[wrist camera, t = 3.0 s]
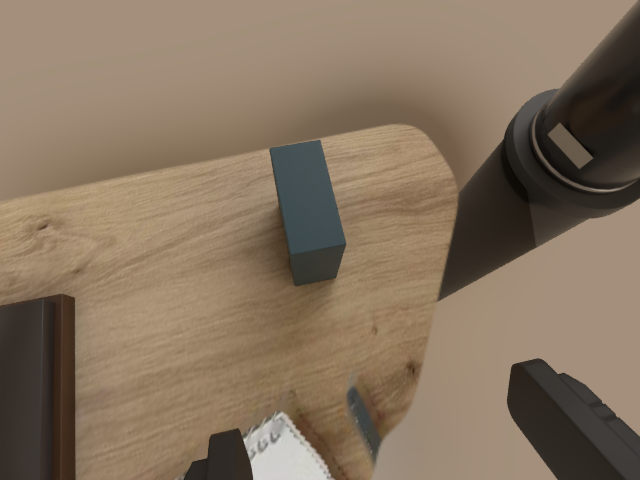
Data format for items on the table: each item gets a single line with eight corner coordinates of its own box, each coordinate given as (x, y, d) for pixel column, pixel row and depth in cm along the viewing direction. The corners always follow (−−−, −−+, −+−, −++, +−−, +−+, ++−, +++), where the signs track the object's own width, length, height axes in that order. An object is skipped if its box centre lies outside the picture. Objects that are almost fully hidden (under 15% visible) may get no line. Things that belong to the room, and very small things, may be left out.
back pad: (317, 196, 31) (320, 139, 24) (336, 278, 29) (346, 244, 21) (278, 203, 31) (269, 147, 23) (294, 286, 29) (290, 255, 21)
